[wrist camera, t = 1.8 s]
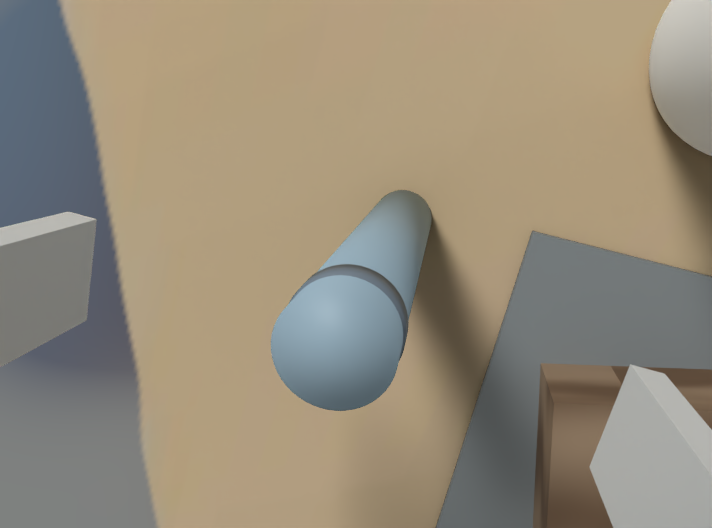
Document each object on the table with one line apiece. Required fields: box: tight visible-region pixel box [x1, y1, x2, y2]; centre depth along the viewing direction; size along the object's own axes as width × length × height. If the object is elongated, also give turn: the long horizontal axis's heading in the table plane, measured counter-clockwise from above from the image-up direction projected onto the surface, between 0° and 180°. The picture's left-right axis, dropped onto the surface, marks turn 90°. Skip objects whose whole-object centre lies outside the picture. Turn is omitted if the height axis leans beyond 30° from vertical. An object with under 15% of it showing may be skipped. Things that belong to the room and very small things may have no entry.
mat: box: [436, 231, 712, 528], centre depth 28 cm, size 20×18×1 cm
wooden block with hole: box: [533, 363, 712, 528], centre depth 26 cm, size 11×11×4 cm
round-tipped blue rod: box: [271, 190, 432, 411], centre depth 20 cm, size 3×3×16 cm
